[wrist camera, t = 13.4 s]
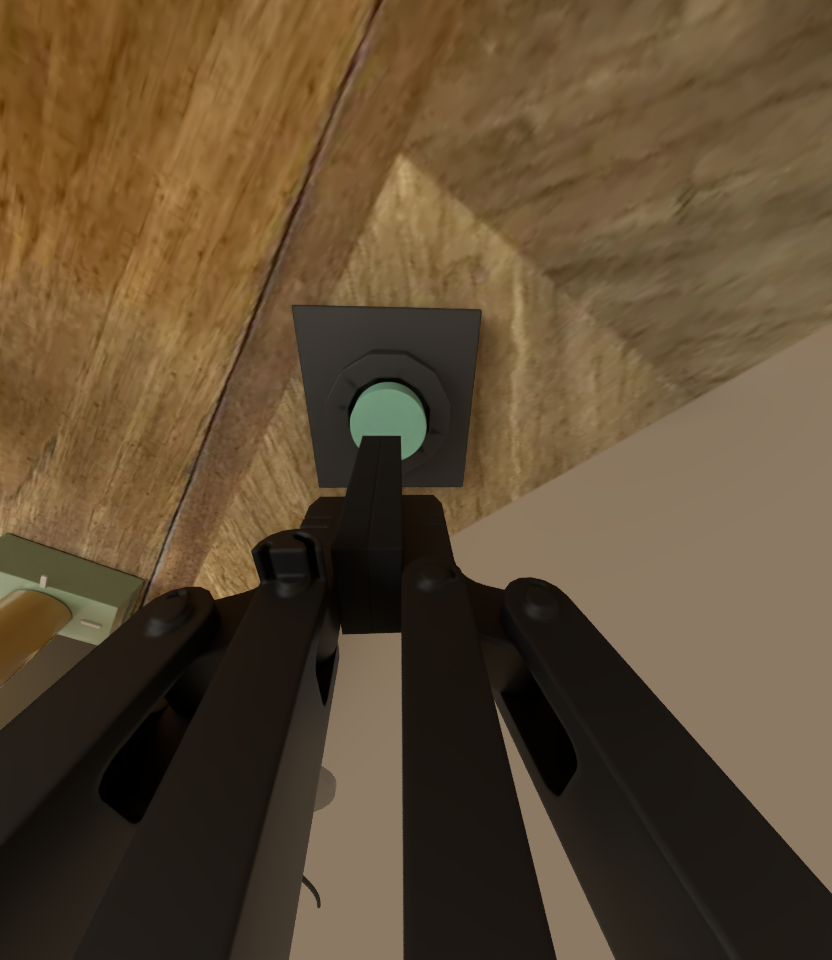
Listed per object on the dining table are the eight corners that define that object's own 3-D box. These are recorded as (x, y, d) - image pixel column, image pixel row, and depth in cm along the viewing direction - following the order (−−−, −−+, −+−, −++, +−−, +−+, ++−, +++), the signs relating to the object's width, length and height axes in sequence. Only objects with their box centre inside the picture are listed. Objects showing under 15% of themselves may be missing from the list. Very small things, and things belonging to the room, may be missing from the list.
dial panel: (148, 570, 27) (119, 600, 24) (127, 625, 30) (100, 657, 28) (7, 521, 24) (-44, 549, 21) (1, 587, 27) (-43, 619, 25)
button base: (457, 472, 24) (467, 501, 20) (325, 473, 23) (312, 502, 20) (473, 309, 18) (491, 309, 15) (302, 304, 18) (279, 304, 14)
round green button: (423, 449, 19) (425, 462, 17) (356, 449, 19) (352, 462, 17) (425, 381, 17) (428, 389, 15) (351, 381, 17) (346, 388, 15)
